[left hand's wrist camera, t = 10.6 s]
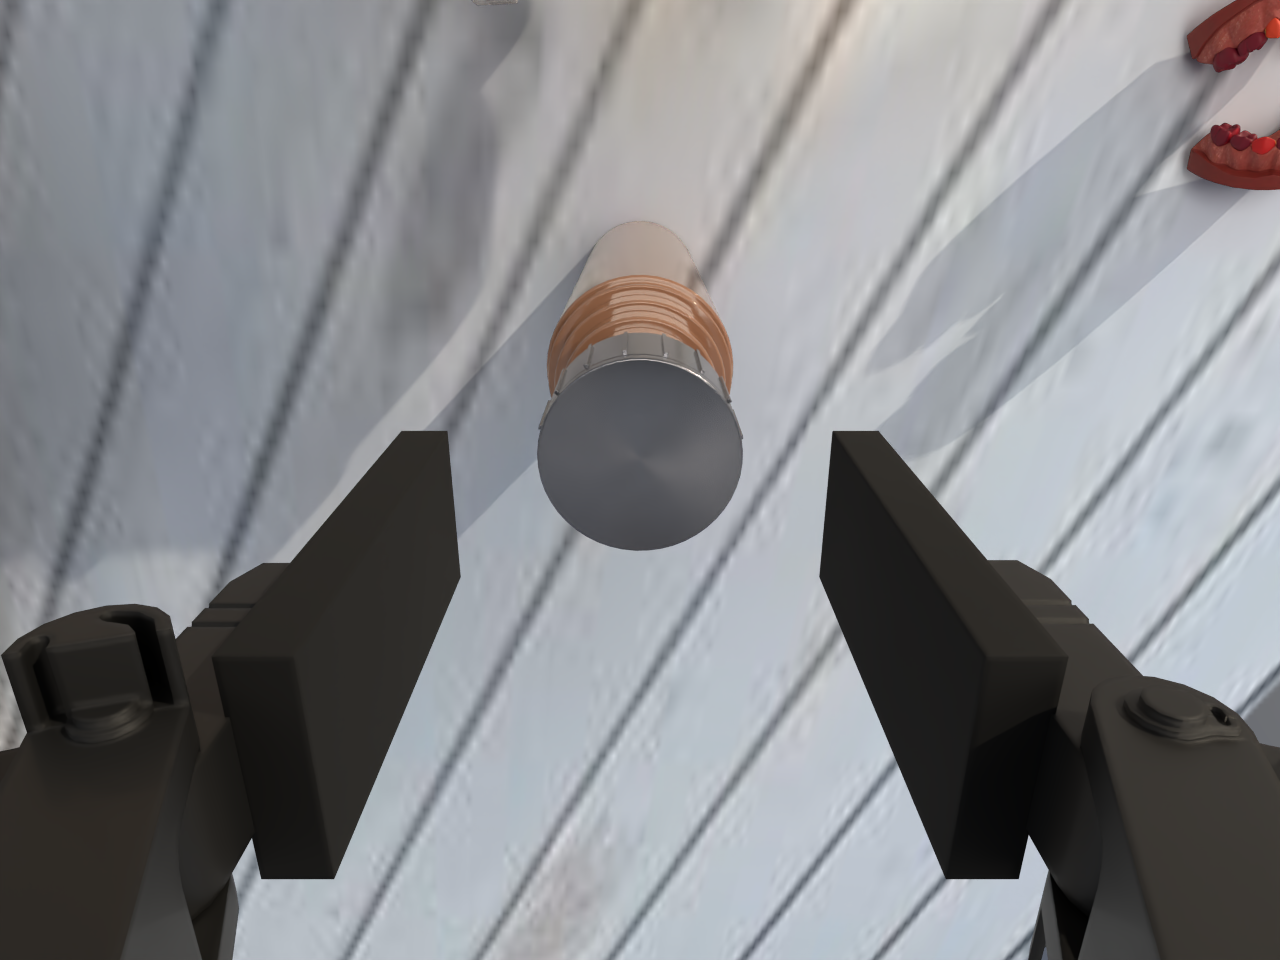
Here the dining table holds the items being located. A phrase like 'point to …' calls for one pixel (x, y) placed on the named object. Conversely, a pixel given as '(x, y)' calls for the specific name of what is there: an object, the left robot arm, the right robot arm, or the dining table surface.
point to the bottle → (639, 299)
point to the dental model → (1225, 156)
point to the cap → (640, 443)
